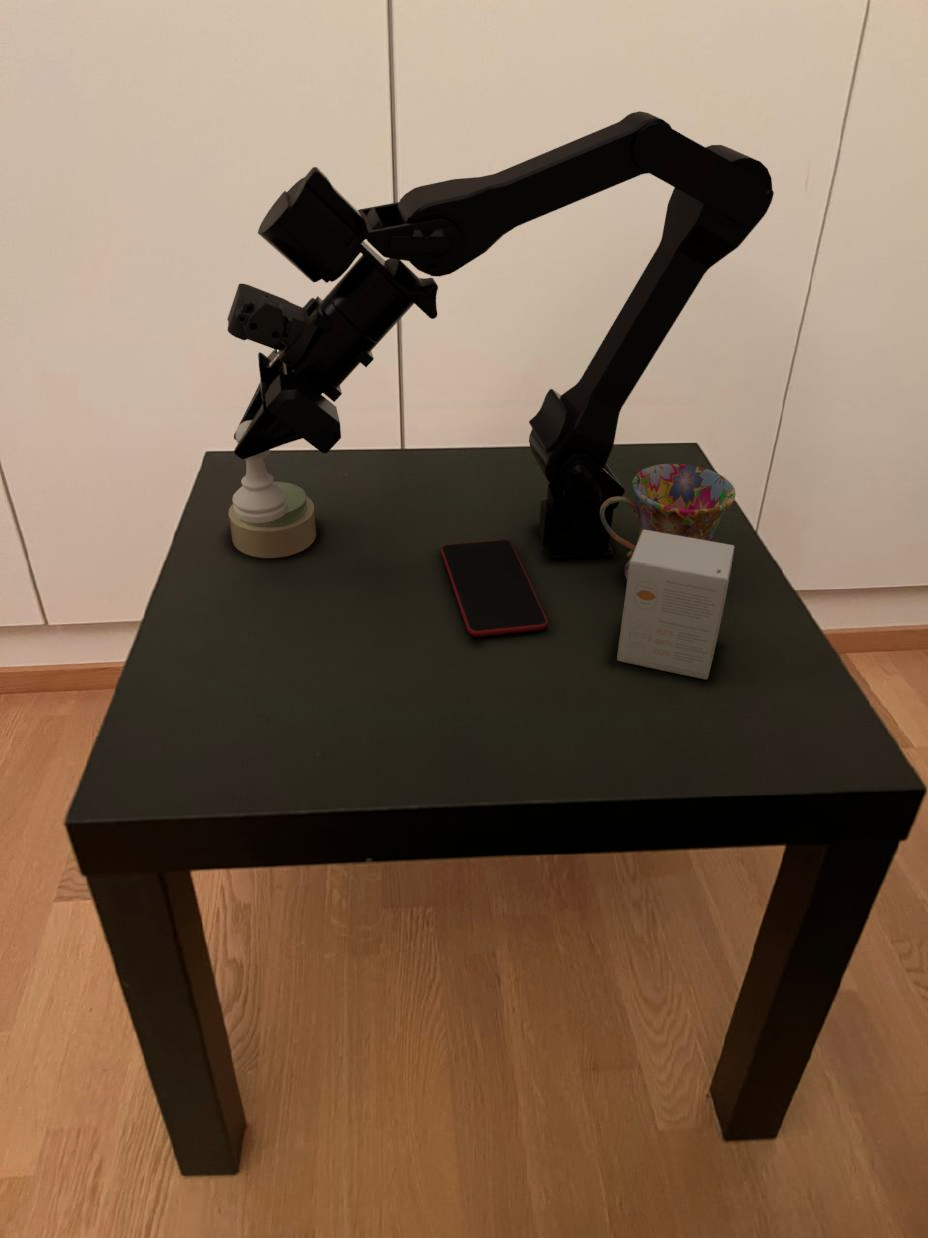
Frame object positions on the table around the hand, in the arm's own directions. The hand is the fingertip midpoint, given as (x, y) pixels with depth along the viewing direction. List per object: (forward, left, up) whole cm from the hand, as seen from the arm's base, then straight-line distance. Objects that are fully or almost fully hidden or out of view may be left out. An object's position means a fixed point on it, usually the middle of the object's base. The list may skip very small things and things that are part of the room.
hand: (237, 448), depth 85 cm
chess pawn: (-1, 0, -7) cm, 7 cm away
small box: (-37, +16, -13) cm, 42 cm away
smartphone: (-23, +5, -13) cm, 27 cm away
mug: (-39, +5, -13) cm, 41 cm away
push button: (-2, -7, -13) cm, 15 cm away
